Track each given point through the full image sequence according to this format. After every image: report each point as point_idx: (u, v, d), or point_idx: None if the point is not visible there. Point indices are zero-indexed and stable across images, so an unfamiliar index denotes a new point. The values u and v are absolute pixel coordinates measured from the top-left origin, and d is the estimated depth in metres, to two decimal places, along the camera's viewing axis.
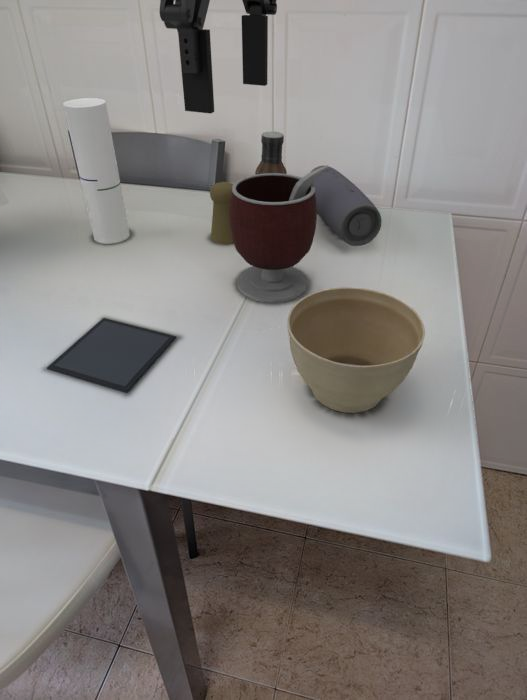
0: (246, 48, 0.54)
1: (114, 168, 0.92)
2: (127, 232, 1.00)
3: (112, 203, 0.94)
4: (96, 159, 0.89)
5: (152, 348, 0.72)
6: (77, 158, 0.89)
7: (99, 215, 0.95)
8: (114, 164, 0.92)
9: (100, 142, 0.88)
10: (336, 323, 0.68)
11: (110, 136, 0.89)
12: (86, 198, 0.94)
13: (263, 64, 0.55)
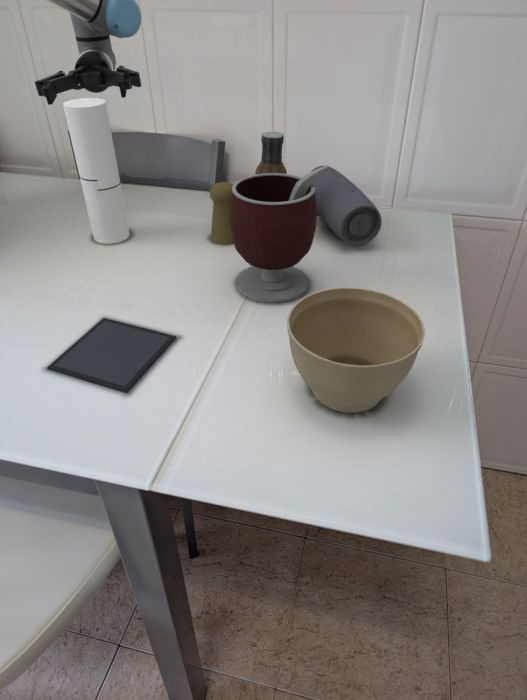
0: (51, 87, 0.94)
1: (114, 168, 0.92)
2: (127, 232, 1.00)
3: (112, 203, 0.94)
4: (96, 159, 0.89)
5: (152, 348, 0.72)
6: (77, 158, 0.89)
7: (99, 215, 0.95)
8: (114, 164, 0.92)
9: (100, 142, 0.88)
10: (336, 323, 0.68)
11: (110, 136, 0.89)
12: (86, 198, 0.94)
13: (53, 100, 0.94)
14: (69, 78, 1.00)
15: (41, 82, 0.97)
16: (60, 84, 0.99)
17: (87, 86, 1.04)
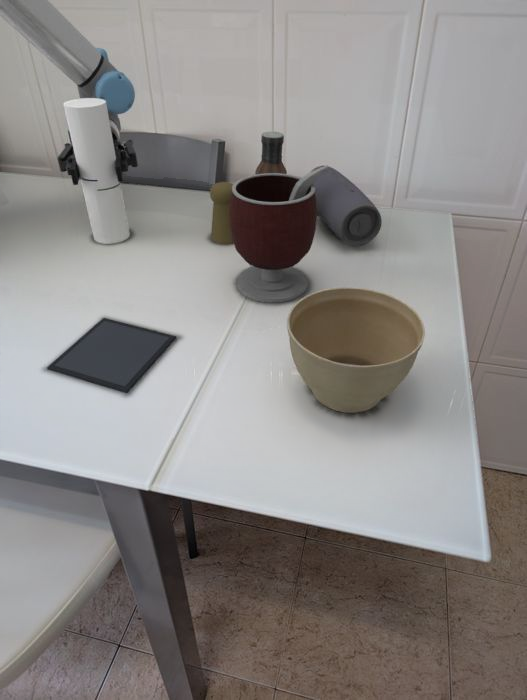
0: (76, 166, 0.91)
1: (114, 169, 0.92)
2: (127, 232, 1.00)
3: (112, 203, 0.94)
4: (96, 159, 0.89)
5: (152, 348, 0.72)
6: (77, 158, 0.89)
7: (99, 215, 0.95)
8: (114, 164, 0.92)
9: (100, 142, 0.88)
10: (336, 323, 0.68)
11: (110, 136, 0.89)
12: (86, 198, 0.94)
13: (78, 179, 0.91)
14: None
15: (64, 158, 0.94)
16: None
17: None
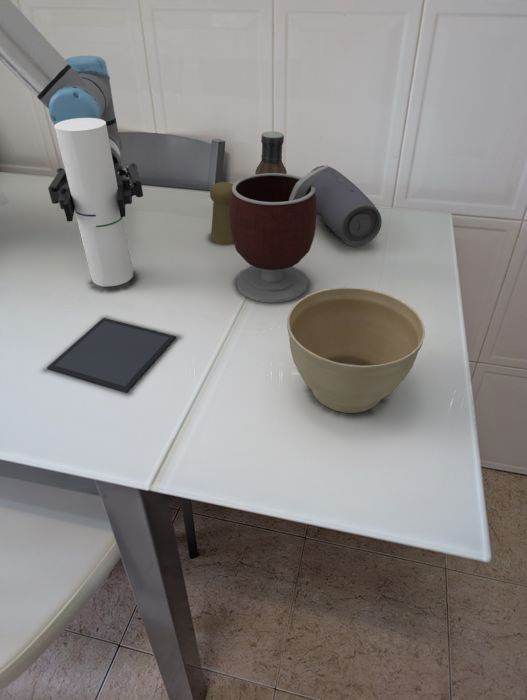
0: (70, 198, 0.76)
1: (116, 201, 0.78)
2: (131, 272, 0.86)
3: (113, 241, 0.80)
4: (94, 191, 0.74)
5: (152, 348, 0.72)
6: (72, 189, 0.75)
7: (98, 255, 0.81)
8: (116, 195, 0.77)
9: (99, 171, 0.73)
10: (336, 323, 0.68)
11: (111, 163, 0.75)
12: (82, 235, 0.80)
13: (73, 214, 0.76)
14: None
15: (56, 188, 0.79)
16: None
17: None
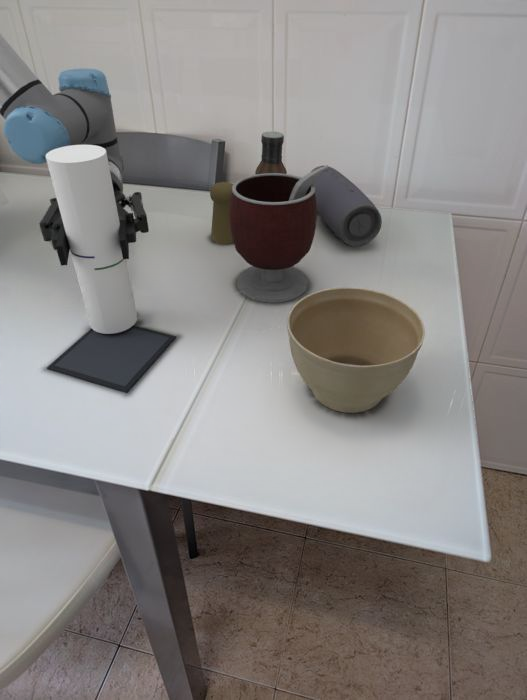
0: (65, 237, 0.65)
1: (118, 240, 0.67)
2: (134, 316, 0.75)
3: (114, 284, 0.69)
4: (93, 230, 0.64)
5: (152, 348, 0.72)
6: (66, 228, 0.64)
7: (97, 300, 0.70)
8: (118, 233, 0.67)
9: (99, 208, 0.62)
10: (336, 323, 0.68)
11: (112, 197, 0.64)
12: (79, 278, 0.69)
13: (68, 256, 0.66)
14: None
15: (49, 223, 0.68)
16: None
17: None
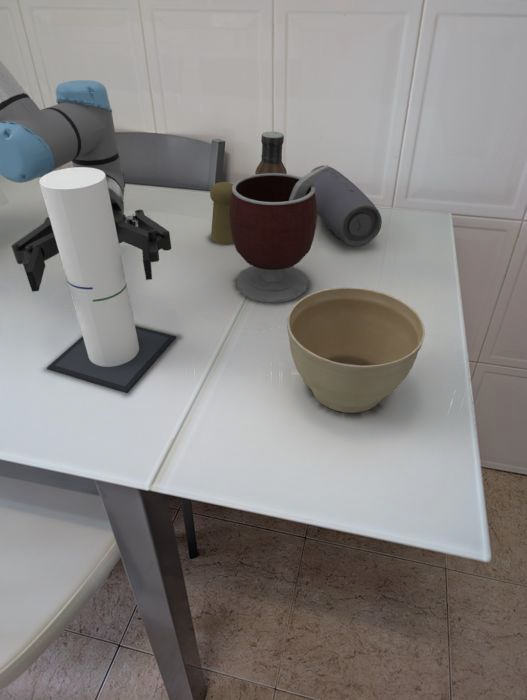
0: (37, 261, 0.61)
1: (118, 269, 0.62)
2: (136, 347, 0.70)
3: (114, 316, 0.64)
4: (91, 260, 0.59)
5: (152, 348, 0.72)
6: (62, 257, 0.59)
7: (95, 332, 0.65)
8: (118, 262, 0.62)
9: (97, 237, 0.57)
10: (336, 323, 0.68)
11: (112, 224, 0.59)
12: (76, 309, 0.64)
13: (40, 280, 0.62)
14: None
15: (22, 246, 0.64)
16: (50, 246, 0.66)
17: None
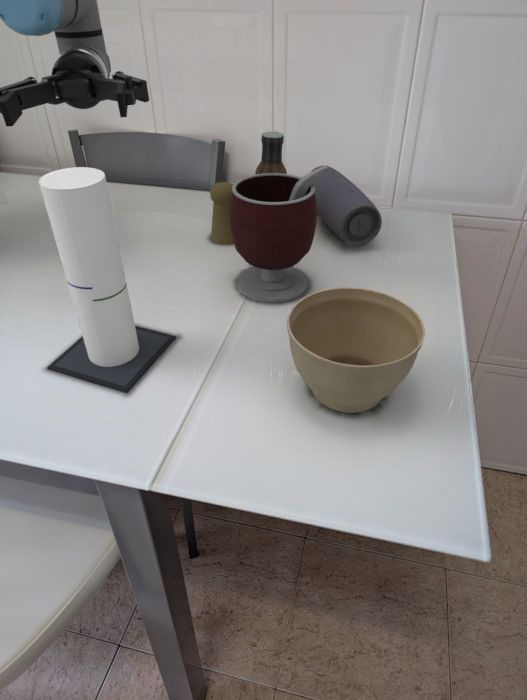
0: (12, 100, 0.61)
1: (118, 269, 0.62)
2: (136, 347, 0.70)
3: (114, 316, 0.64)
4: (90, 260, 0.59)
5: (152, 348, 0.72)
6: (62, 257, 0.59)
7: (95, 332, 0.65)
8: (118, 262, 0.62)
9: (97, 236, 0.57)
10: (336, 323, 0.68)
11: (112, 224, 0.59)
12: (76, 309, 0.64)
13: (15, 119, 0.62)
14: (41, 87, 0.67)
15: None
16: (28, 96, 0.66)
17: (69, 100, 0.72)
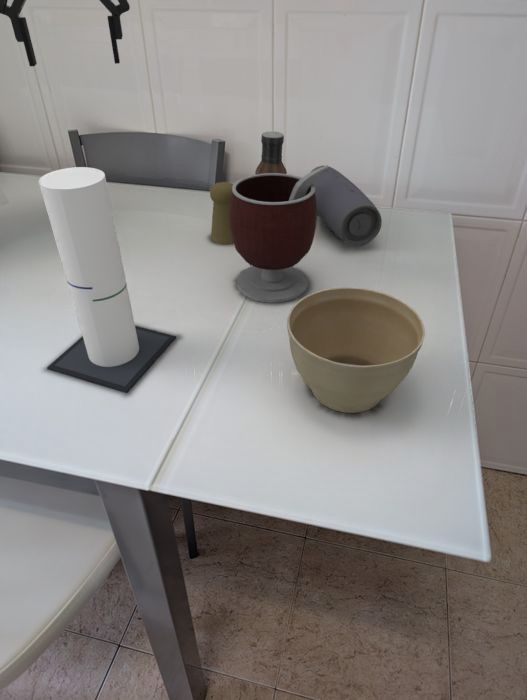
0: None
1: (118, 268, 0.62)
2: (136, 347, 0.70)
3: (114, 316, 0.64)
4: (90, 260, 0.59)
5: (152, 348, 0.72)
6: (62, 257, 0.59)
7: (95, 332, 0.65)
8: (118, 262, 0.62)
9: (97, 236, 0.57)
10: (336, 323, 0.68)
11: (112, 224, 0.59)
12: (76, 309, 0.64)
13: None
14: None
15: None
16: None
17: None
